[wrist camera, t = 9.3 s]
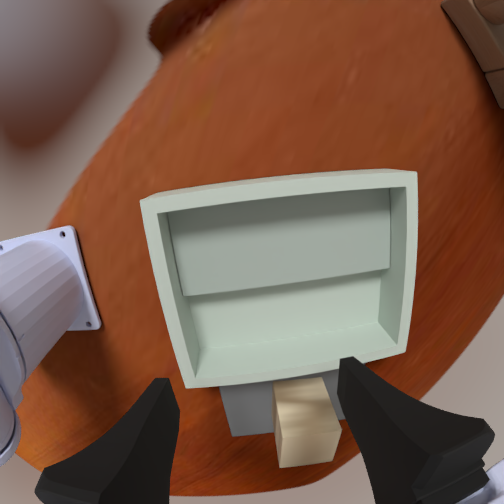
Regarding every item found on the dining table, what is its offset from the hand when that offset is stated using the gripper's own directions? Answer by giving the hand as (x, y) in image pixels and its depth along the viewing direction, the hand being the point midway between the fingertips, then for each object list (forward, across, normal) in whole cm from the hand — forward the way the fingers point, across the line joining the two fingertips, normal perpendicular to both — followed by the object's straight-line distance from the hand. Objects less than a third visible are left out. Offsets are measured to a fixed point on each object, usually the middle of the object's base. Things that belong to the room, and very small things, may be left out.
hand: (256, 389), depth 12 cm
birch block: (+9, -3, +10) cm, 14 cm away
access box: (+9, -3, -2) cm, 10 cm away
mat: (+9, -3, +10) cm, 14 cm away
